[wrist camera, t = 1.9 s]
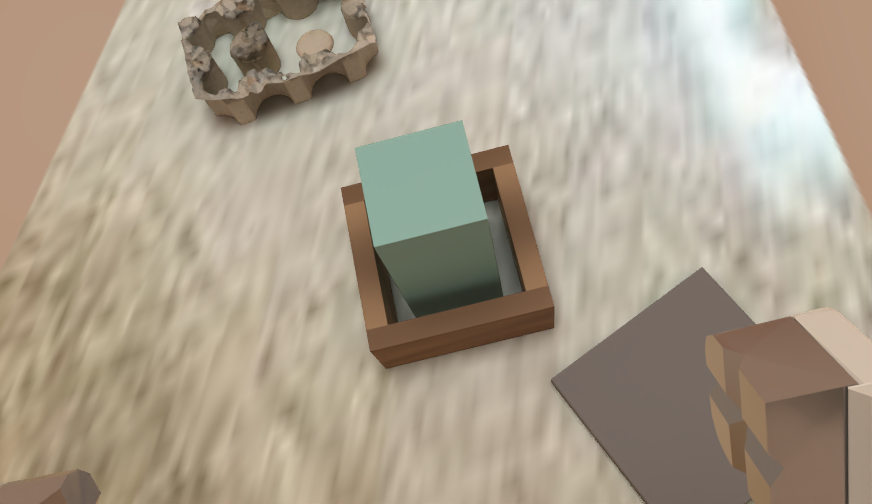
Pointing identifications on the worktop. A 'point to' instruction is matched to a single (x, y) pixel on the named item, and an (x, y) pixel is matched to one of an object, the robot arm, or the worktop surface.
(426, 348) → the pocket holder
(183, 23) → the egg carton
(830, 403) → the robot arm
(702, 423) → the rubber mat
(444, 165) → the teal block
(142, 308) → the worktop surface
